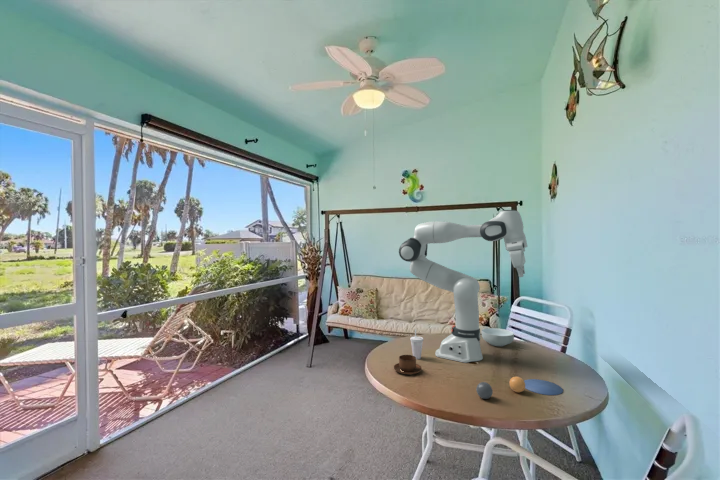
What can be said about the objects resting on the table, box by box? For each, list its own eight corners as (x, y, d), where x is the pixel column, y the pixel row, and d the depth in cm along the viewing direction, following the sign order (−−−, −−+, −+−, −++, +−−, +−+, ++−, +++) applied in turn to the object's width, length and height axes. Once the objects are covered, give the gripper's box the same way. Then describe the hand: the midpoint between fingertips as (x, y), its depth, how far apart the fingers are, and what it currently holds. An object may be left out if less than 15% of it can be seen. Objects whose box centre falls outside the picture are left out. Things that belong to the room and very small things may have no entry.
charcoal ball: (475, 399, 120) (475, 384, 120) (477, 393, 125) (477, 378, 125) (492, 402, 118) (491, 387, 118) (493, 396, 123) (493, 381, 123)
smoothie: (408, 355, 167) (408, 327, 167) (421, 355, 168) (421, 327, 168) (412, 360, 161) (411, 331, 161) (425, 359, 161) (424, 330, 161)
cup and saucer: (388, 372, 147) (388, 357, 147) (404, 364, 156) (404, 351, 156) (411, 379, 139) (411, 364, 139) (426, 371, 148) (426, 357, 148)
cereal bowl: (520, 348, 177) (520, 335, 177) (489, 349, 177) (489, 336, 177) (504, 339, 194) (504, 327, 194) (476, 340, 193) (476, 327, 194)
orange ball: (509, 393, 125) (509, 378, 125) (509, 387, 130) (509, 373, 130) (525, 396, 123) (525, 381, 123) (525, 390, 128) (525, 375, 128)
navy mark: (521, 390, 127) (521, 390, 127) (521, 377, 140) (521, 376, 140) (564, 398, 121) (564, 397, 121) (560, 383, 134) (560, 382, 134)
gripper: (510, 244, 161) (516, 273, 160) (505, 247, 143) (512, 279, 143) (525, 242, 158) (531, 271, 157) (522, 244, 140) (528, 277, 140)
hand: (522, 275), depth 150 cm, fingers open, 8 cm apart
